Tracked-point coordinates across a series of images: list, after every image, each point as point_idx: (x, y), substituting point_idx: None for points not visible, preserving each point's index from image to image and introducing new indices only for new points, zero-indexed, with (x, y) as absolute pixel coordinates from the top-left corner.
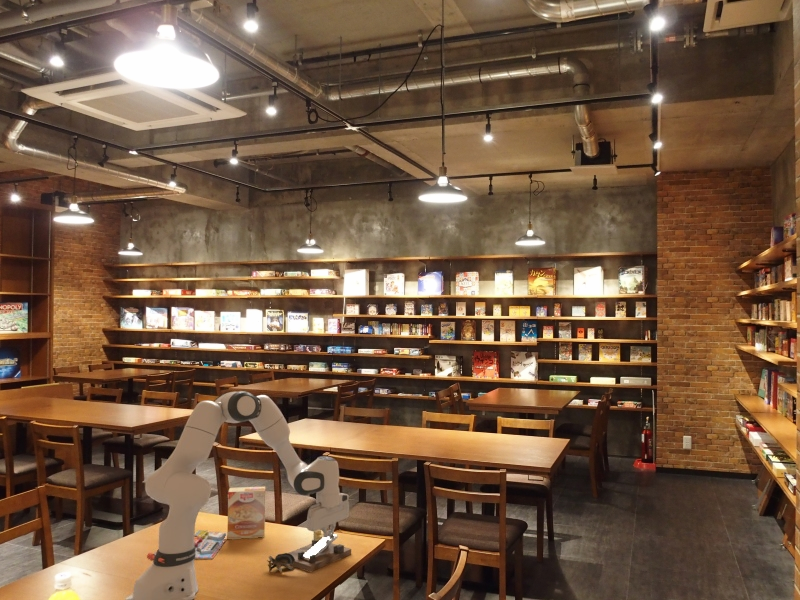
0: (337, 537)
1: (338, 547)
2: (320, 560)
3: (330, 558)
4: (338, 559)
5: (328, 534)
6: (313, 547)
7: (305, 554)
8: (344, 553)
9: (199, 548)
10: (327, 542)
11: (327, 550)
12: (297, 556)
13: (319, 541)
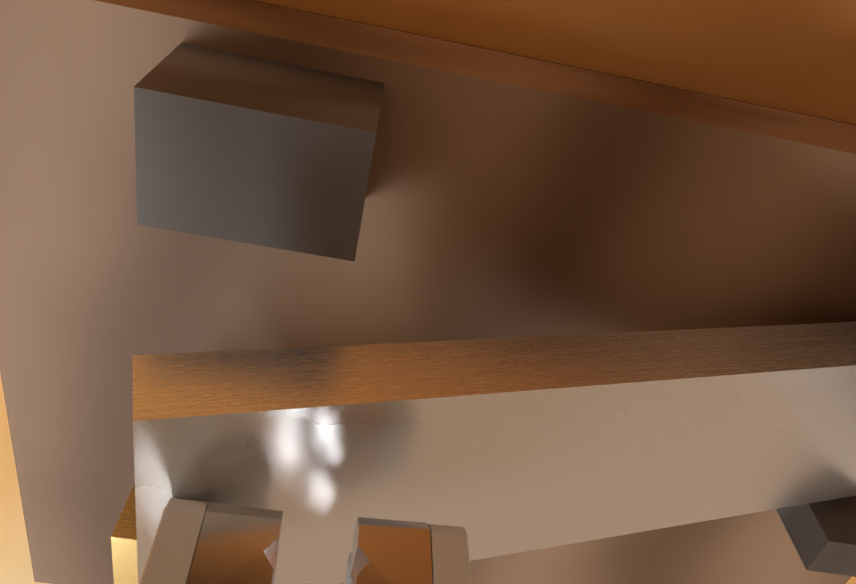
0: (134, 358)
1: (344, 133)
2: (829, 207)
3: (636, 105)
4: (392, 32)
5: (399, 577)
6: (674, 510)
7: (840, 483)
8: (196, 10)
9: None
10: (514, 406)
11: (321, 339)
12: (731, 541)
13: (494, 551)
